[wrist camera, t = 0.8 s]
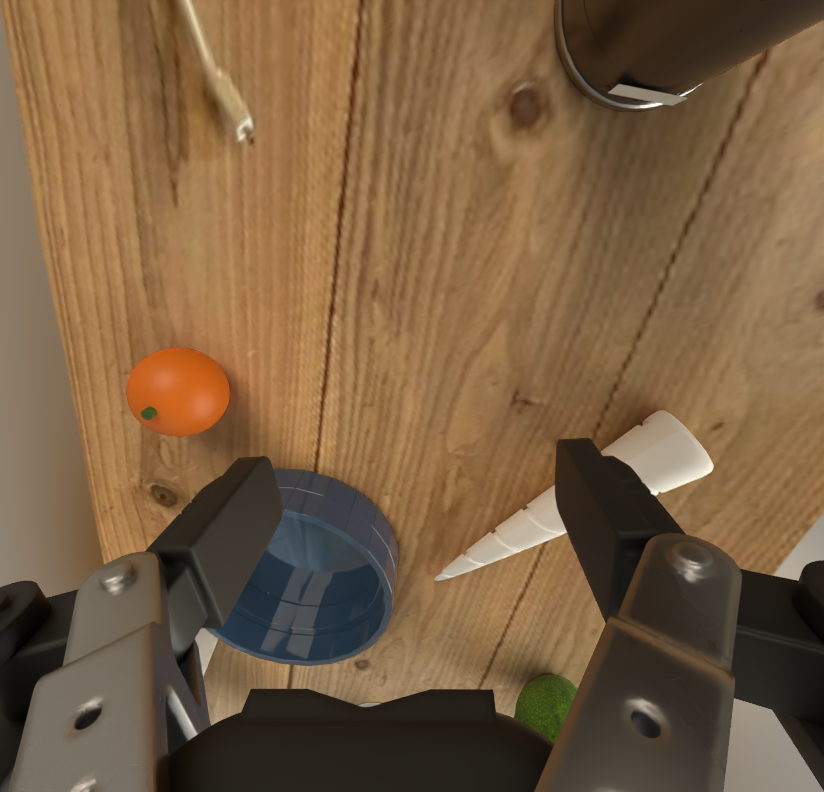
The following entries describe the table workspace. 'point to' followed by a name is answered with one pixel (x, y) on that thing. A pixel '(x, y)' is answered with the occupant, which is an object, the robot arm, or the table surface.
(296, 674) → the table surface
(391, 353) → the table surface
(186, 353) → the mandarin
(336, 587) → the bowl
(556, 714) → the avocado
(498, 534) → the unicorn horn
